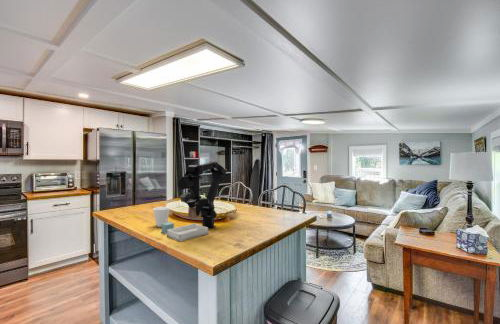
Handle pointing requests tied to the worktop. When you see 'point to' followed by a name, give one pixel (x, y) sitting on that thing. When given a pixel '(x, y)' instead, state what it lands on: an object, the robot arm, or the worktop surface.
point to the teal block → (167, 227)
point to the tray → (187, 232)
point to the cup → (161, 215)
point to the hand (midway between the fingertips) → (194, 215)
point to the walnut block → (193, 213)
